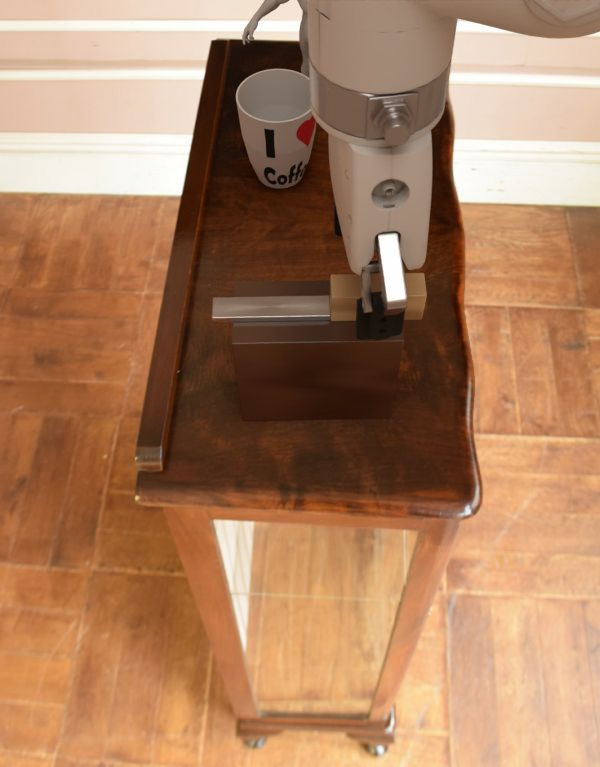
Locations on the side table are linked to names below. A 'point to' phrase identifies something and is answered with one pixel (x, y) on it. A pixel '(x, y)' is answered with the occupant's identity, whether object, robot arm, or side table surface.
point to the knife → (317, 302)
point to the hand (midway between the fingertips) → (366, 280)
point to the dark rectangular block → (310, 363)
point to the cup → (277, 125)
